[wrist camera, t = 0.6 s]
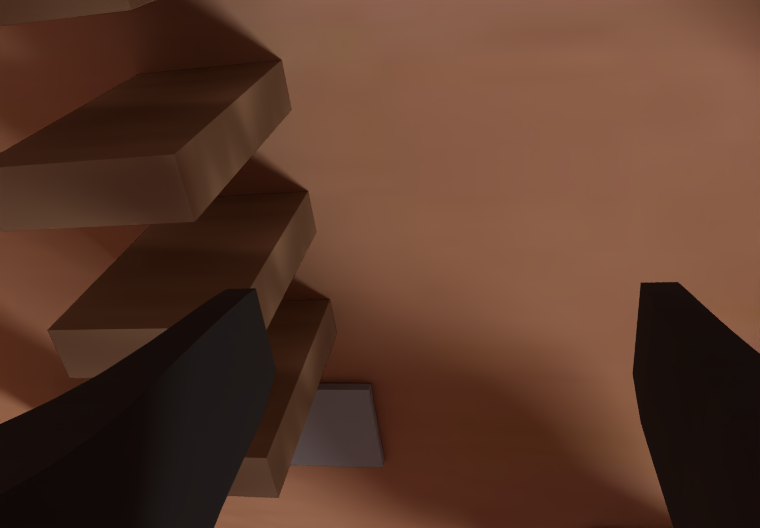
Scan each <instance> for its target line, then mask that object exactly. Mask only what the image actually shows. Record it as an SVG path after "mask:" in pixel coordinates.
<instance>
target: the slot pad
mask: <svg viewBox="0 0 760 528" xmlns="http://www.w3.org/2000/svg"><path fill="white" fill-rule="evenodd" d="M290 465H306V466H341V467H375V468H383V465H384V456H383V450H382V445H381V439H380V434H379V428H378V422H377V417H376V411H375V406H374V400H373V395H372V389H371V384H369V383H319V385H318V388H317V391H316V394H315V397H314V399H313V402H312V405H311V408H310V411H309V413H308V416H307V419H306V422H305V425H304V427H303V430H302V433H301V436H300V439H299V441H298V444H297V447H296V450H295V453H294V456H293V458H292V461H291V464H290Z"/></svg>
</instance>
